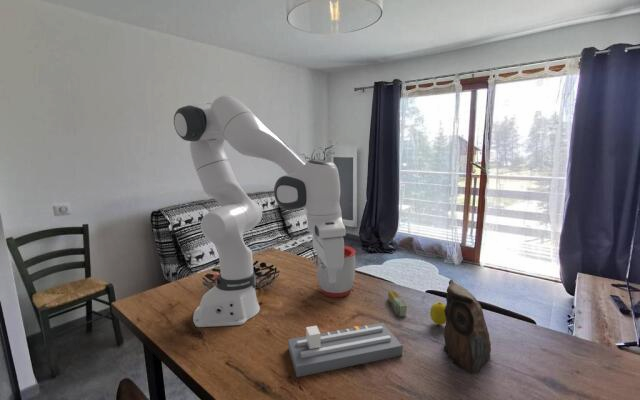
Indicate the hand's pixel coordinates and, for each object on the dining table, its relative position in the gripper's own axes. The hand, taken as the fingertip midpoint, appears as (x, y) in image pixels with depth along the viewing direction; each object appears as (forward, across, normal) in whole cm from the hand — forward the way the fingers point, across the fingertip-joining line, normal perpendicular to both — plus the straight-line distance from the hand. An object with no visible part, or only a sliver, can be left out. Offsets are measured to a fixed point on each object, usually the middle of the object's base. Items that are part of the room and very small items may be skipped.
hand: (327, 275), depth 84 cm
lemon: (+26, -10, +38) cm, 47 cm away
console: (+25, -3, +4) cm, 25 cm away
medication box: (+25, -23, +30) cm, 45 cm away
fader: (+21, -3, -4) cm, 22 cm away
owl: (+26, +6, +37) cm, 46 cm away
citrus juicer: (+23, -41, +11) cm, 48 cm away
